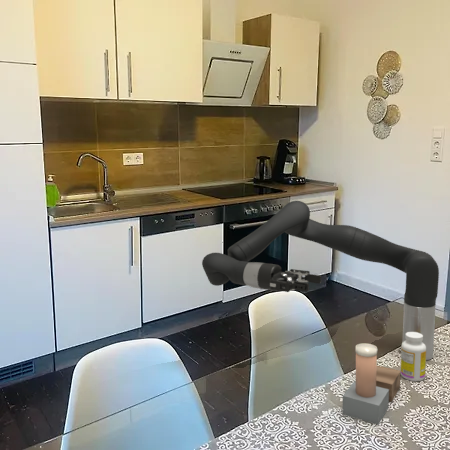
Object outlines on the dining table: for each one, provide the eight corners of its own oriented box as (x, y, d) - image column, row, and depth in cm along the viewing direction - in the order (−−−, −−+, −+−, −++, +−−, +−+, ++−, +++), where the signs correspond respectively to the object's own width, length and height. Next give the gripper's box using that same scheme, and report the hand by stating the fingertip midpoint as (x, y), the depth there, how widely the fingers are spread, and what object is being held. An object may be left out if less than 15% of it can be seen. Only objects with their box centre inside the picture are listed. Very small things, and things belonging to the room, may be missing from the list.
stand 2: (367, 379, 137) (368, 363, 136) (400, 387, 132) (400, 370, 131) (357, 393, 129) (358, 376, 128) (391, 402, 124) (392, 384, 123)
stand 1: (354, 398, 127) (354, 380, 126) (388, 407, 122) (389, 389, 121) (342, 414, 119) (342, 395, 118) (378, 424, 114) (379, 405, 114)
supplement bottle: (421, 371, 141) (422, 330, 139) (428, 382, 134) (430, 339, 132) (397, 371, 141) (399, 330, 139) (403, 381, 135) (405, 339, 133)
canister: (359, 385, 123) (359, 341, 121) (379, 390, 120) (379, 346, 118) (352, 394, 119) (352, 349, 117) (372, 399, 116) (373, 353, 114)
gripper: (250, 268, 131) (304, 276, 122) (274, 258, 143) (325, 264, 134) (250, 294, 132) (304, 304, 123) (274, 282, 144) (324, 290, 135)
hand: (314, 283), depth 129 cm, fingers open, 8 cm apart
